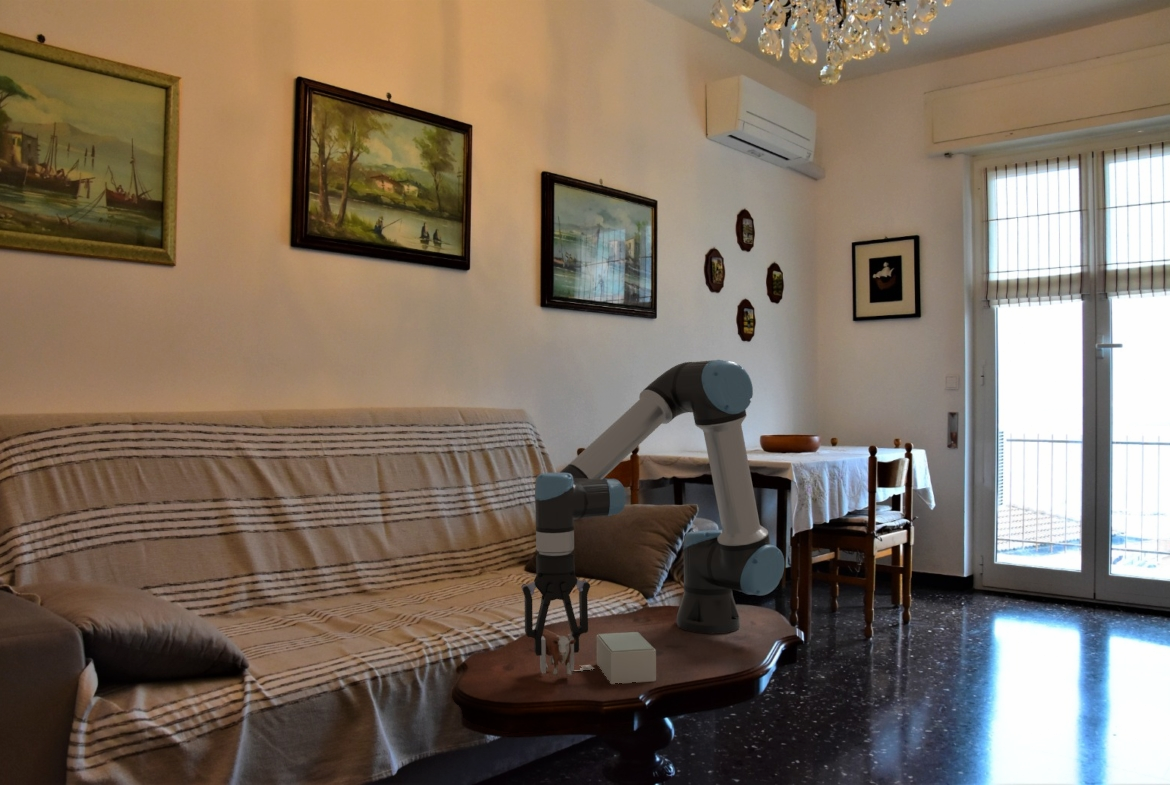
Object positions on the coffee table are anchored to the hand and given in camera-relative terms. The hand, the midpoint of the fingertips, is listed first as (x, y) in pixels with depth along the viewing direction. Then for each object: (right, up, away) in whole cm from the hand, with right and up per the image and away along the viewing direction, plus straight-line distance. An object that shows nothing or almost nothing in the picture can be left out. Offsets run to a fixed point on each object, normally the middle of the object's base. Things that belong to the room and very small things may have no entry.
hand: (557, 669), depth 172 cm
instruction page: (+5, -2, +6) cm, 8 cm away
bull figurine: (0, -1, 0) cm, 1 cm away
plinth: (+14, -2, +4) cm, 14 cm away
